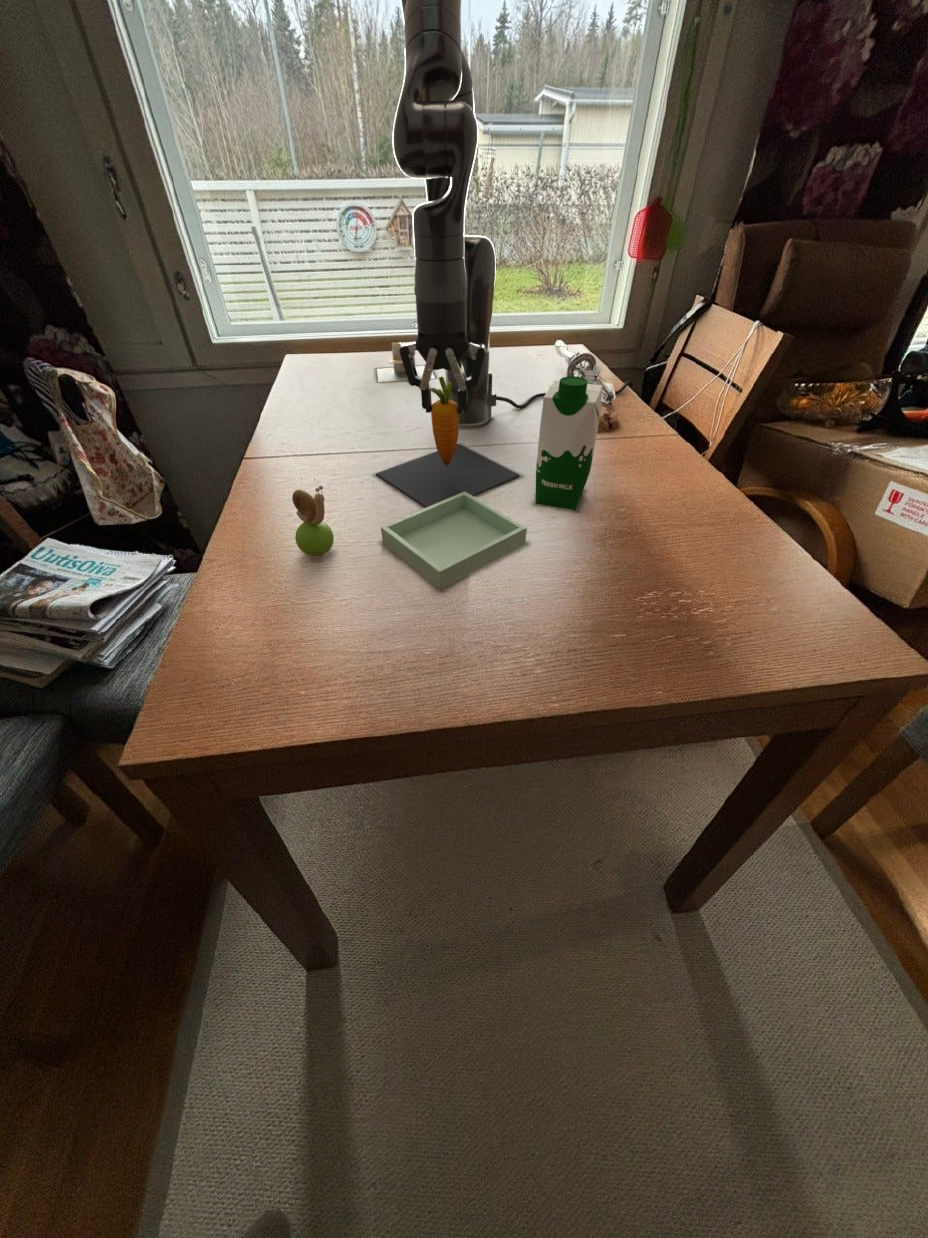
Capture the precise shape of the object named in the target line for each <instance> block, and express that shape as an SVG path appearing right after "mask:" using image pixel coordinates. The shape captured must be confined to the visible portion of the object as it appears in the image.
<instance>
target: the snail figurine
mask: <svg viewBox="0 0 928 1238" xmlns="http://www.w3.org/2000/svg"><path fill="white" fill-rule="evenodd" d="M323 489H324V487H323V485H319V486H318V487H316V488H315V492H316V493H315V494H314V496H313V495H312V494H311V493H310V492H308V491H306V490H305V489H301V488H300V489H296V490H294V492H293V493H292V497H291V498H292V499H291V500H292V503H293V506H294V507H295V509H296V515H297V516H298V518H299V519H300V520H301V521H302V523H301V524H300V525H299V526H298V527H297V529H296V531H295V543H296V546H297V548H298V549H299V550H300V551H301V552H302V553H303V554H304V555H307V556H310V557H322V556H324V555H325V554H327V553H328V552H330V550H331V549H332V547H333V545H334V540H335V538H334V533H333V530H332V528H331V527H330V526H329V525H328V524H327V523H326V522H324V520H325V513H326V512H325V511H326V510H325V496H324V495H323ZM320 491H321V492H320Z"/></svg>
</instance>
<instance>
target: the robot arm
mask: <svg viewBox="0 0 928 1238" xmlns="http://www.w3.org/2000/svg"><path fill="white" fill-rule="evenodd" d="M399 1H400V8H401V15H402V20H403V21H402V22H403V34H404V35H403V37H404V38H403V39H404V76H403V84H402V88H401V92H400V96H399V100H398V104H397V108H396V112H395V117H394V122H393V129H392V149H393V154H394V155H393V156H394V158H395V162H396V164H397V165H398V167H399V169H400V171H401V172H402V173H403V174H404V175H405V176H406V177H408V178H411V179H417V180H418V179H419V180H421V179H424V184H425V192H426V202H423V203H421V204H418V205H416V206H415V208H414V210H413V213H412V233H413V248H414V249H413V250H414V274H413V275H414V276H413V277H414V288H413V291H414V297H415V309H416V325H417V337H416V339H415V341H412V343H409V344H408V343H403V344H402V346H401V347H400V349H399V352H400V355H401V359H402V362H403V365H404V368H405V372H406V375H407V378H408V380H407V381H408V384H409V386H410V387H417V388H419V390H420V397H421V407H422V409H423V410H425V413H429V414H431V405H432V404H433V403H432V392H431V388H432V387H431V385H430V381H431V379H430V378H431V374H432V372H434V371H439V370H444V371H445V372H444V373H445V383H446V386H448V382H451V383H452V388H451V393H450V397H449V400H451V401H454V402H456V404H457V406H458V412H459V428H475V427H479V426H482V425H485V424H487V422H488V421H489V420H490V419H492V407H496V406H497V401H500V402H501V401H502V402H505V403H508V404H510V405H511V406H512V407H514V408H515V409H524V408H526V407H527V406H529V404H530V403H531V402H533V400H535V399H537V398H544V396H545V394H546V393H547V392H540V393H537V394H534V395H532V396H531V397H530V398H529V399H527V401H526V402H524V403H522V404H518V403H516V402H515V401H513V399H510V398H508V397H503V396H497V394H496V393H495V392H493V373H492V372H490V341H491V339H490V337H491V334H490V333H491V323H492V320H493V319H492V318H493V312H494V298H495V297H494V296H495V283H496V267H497V266H496V263H497V261H496V252H495V251H496V250H495V247H494V244H493V242H492V241H491V240H490V238H488V237H486V236H483V235H472V234H471V235H469V234H465V219H466V206H467V198H468V193H469V187H470V183H471V177H472V173H473V169H474V165H475V160H476V156H477V149H478V145H479V127H478V121H477V118H476V112H475V99H474V86H473V75H472V71H471V66H469V62H468V60H467V57H466V54H465V53H464V50H463V49H462V18H461V17H462V0H399ZM416 350H417V352H418V354H419V355H420V356H421V357H422V359H423V361H424V362H425V365H424V366H425V368H424V372H423V376H422V377H420V376H418V374H417V371H416V367H415V366H416V363H415V364H414V360H413V358H414V357H415V356H416ZM628 385H629V386H630V387H632V386H634V383H633V382H632V380H630V379H629V380H626V381H625V383H624V384H623V385H622V386H621V387H620V388H619V389H618V390H614V391H615V396H617V395H619V394H621V393H622V392H623V391H624V390H625V389H626V388H627V386H628Z"/></svg>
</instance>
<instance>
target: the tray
mask: <svg viewBox="0 0 928 1238" xmlns="http://www.w3.org/2000/svg"><path fill="white" fill-rule="evenodd" d="M527 530H528V528H527V527H526V526H525V525H523V524H521V523H520V522H518V521H516V520H514V519H512V518H511V517H509V516H508V515H505V514H504V513H502V512H501V511H499V510H497V509H496V508H494V507H492V506H490V505H488V504H487V503H485V502H484V501H482V500H480V499H479V498H477V497H476V496H474V497H473V496H472V495H470V494H468V493H467V492H462V493H460V494H457V495H455V496H453V497H450V498H448V499H446V500H443V501H441V502H438V503H436V504H434V505H431V506H429V507H427V508H425V507H424V508H422V509H420V510H418V511H415V512H412V513H410V514H408V515H406V516H402V517H401V518H398V519H396V520H393V521H391V522H389V523H386V524H384V525H382V526H380V532H381V533H380V534H381V538H382V544H383V545H384V546H385V547H387V548H388V549H389V550H391V551H392V552H393V553H394V554H396V555H397V556H398V557H400V558H401V560H403V561H405V563H407V564H408V565H410V566H411V567H412V568H413V569H415V570H416V571H417V572H418V573H419V574H421V575H422V576H423V577H424V578H426V579H427V580H428V581H430V582H431V583H432V584H433V585H435V586H436V587H437V588H438V589H440V590H441V589H443V588H445V587H447V586H449V585H451V584H453V583H454V582H456V581H459V580H460V579H462V578H464V577H466V576H468V575H469V574H472V573H473V572H476V571H478V570H480V569H481V568H484V567H485V566H487V565H489V564H491V563H492V562H495V561H497V560H498V559H500V558H502V557H504V556H506V555H508V554H510V553H512V552H514V551H515V550H517V549H520V548H521V547H523V546H525V545H526V540H527Z"/></svg>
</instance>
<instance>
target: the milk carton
mask: <svg viewBox="0 0 928 1238" xmlns="http://www.w3.org/2000/svg"><path fill="white" fill-rule="evenodd" d="M587 383H588V382H587V380H586V379H584V378H581V377H580V376H579V377H577V376H575V375H574V376H568V377H567V376H564V377H561V378H560V379H559V380H553V383H551V384H550V385H549V386H548V389H547V391H546V392H545V393H546V394H545V396H543V399H542V409H541V415H540V416H541V417H540V423H539V432H538V433H539V434H538V445H537V455H536V463H535V464H536V465H535V466H536V467H535V505H539V506H545V507H551V508H558V509H565V510H571V511H577V508H578V506H579V503H580V501H581V497H582V495H583V492H584V489H585V487H586V484H587V482H588V479H589V476H590V474H591V469H592V465H593V458H594V453H595V447H596V441H597V435H598V431H599V430H598V424H599V417H600V415H601V406H602V402H601V394H602V385H593V384H587Z"/></svg>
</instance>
